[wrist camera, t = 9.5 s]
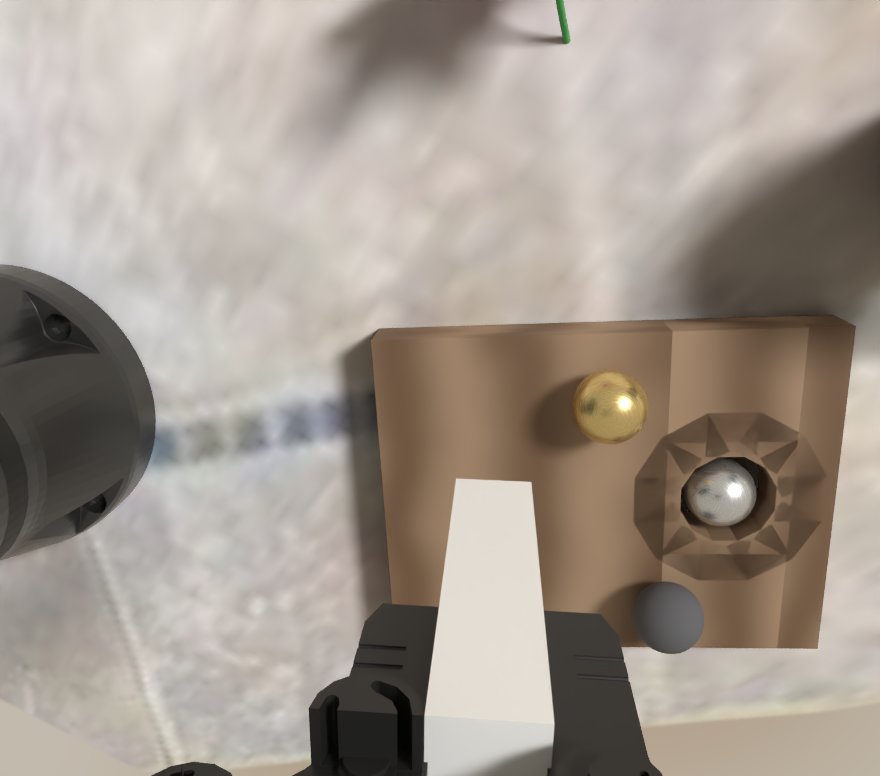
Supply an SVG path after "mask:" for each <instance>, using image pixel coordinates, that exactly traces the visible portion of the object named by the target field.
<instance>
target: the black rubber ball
mask: <svg viewBox="0 0 880 776" xmlns="http://www.w3.org/2000/svg"><path fill="white" fill-rule="evenodd" d="M632 619H633V624H634V627H635V630H636V632H637V634H638V635H639V637H640V638H641V640H642V641H643V642H644V643H645V644H646V645H648V646H649V647H651V648H652V649H654V650H656V651H658V652H662V653H667V654H676V653H681V652H684V651H686V650H688V649H690V648H691V647H692V646H694V645H695V644H696V643H697V641H698V640H699V639H700V637H701V635H702V632H703V629H704V612H703V609H702V606H701V604H700V602H699V601H698V599H697V598H696V596H695V595H694V594H693V593H692V592H691V591H690V590H688V589H687V588H686V587H684V586H682V585H680V584H677V583H674V582H666V581H665V582H657V583H654V584H651V585H649V586H647V587H646V588H644V589H643V590H642V591H641V592H640V593H639V595H638V596H637V598H636V600H635V602H634V605H633V610H632Z"/></svg>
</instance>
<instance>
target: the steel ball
mask: <svg viewBox="0 0 880 776" xmlns="http://www.w3.org/2000/svg"><path fill="white" fill-rule="evenodd" d="M684 498H685V501H686V504H687V506H688V508H689V509H690V511H691V512H692V513H693V514H694V515H695V516H696V517H697V518H698V519H700V520H701V521H703V522H705V523H707V524H710V525H713V526H730V525H734V524H736V523H738V522H740V521H742V520H743V519H745V518H746V517H747V516H748V515H749V514H750V512H751V511H752V509H753V507H754V505H755V501H756V486H755V483H754V480H753V478H752V476H751V475H750V473H749V472H748V471H747V470H746V469H745V468H744V467H743V466H742V465H741V464H739V463H737V462H735V461H733V460H730V459H726V458H716V459H714V460H712V461H710V462H708V463H706V464H704V465H702V466H700V467H698V468H696V469H695V470H694V471H693V473H692V474H691V476H690V477H689V479H688V480H687V482H686V483H685V484H684Z"/></svg>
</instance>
